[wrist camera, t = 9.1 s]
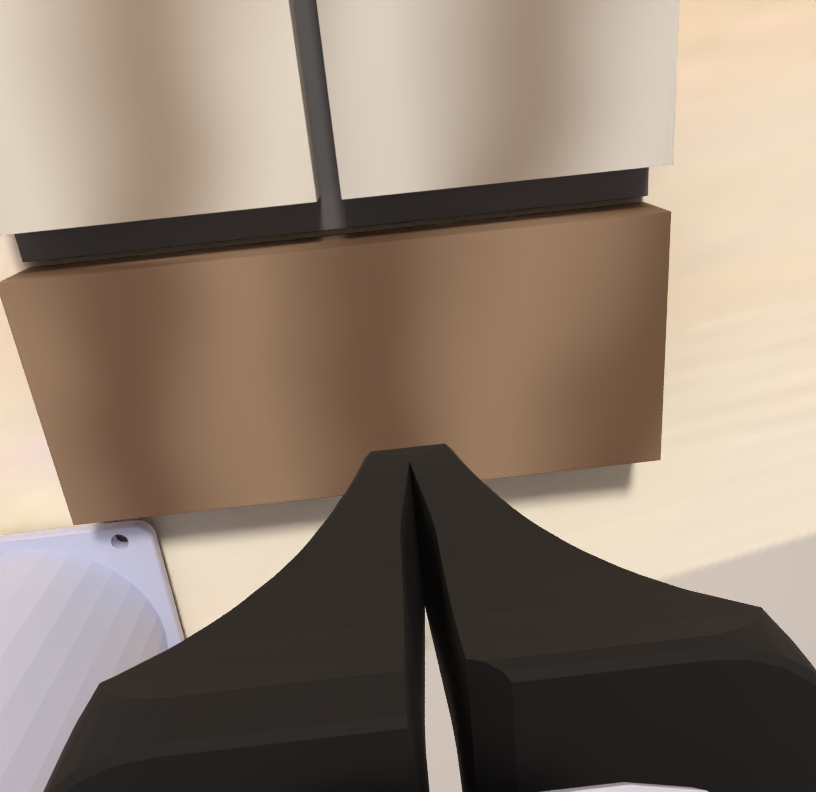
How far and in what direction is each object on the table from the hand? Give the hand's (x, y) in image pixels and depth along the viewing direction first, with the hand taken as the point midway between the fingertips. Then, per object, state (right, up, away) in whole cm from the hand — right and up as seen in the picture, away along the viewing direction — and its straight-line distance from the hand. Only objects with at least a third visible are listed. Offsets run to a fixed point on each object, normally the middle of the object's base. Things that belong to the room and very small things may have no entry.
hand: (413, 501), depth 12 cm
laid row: (-2, +3, +9) cm, 9 cm away
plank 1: (-7, +10, +5) cm, 13 cm away
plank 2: (+2, +11, +6) cm, 12 cm away
